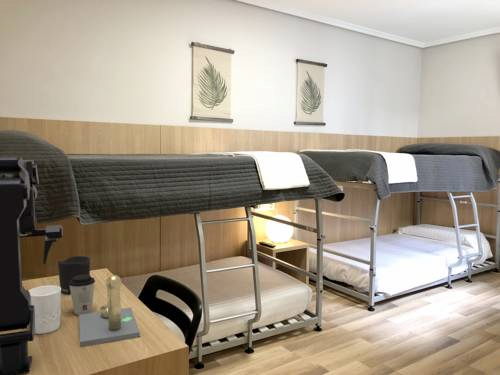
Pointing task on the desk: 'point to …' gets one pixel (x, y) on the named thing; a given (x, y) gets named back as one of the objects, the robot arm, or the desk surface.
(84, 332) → the gray board
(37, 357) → the desk surface
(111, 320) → the brass crank handle
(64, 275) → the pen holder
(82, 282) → the coffee cup
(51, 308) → the white cup
